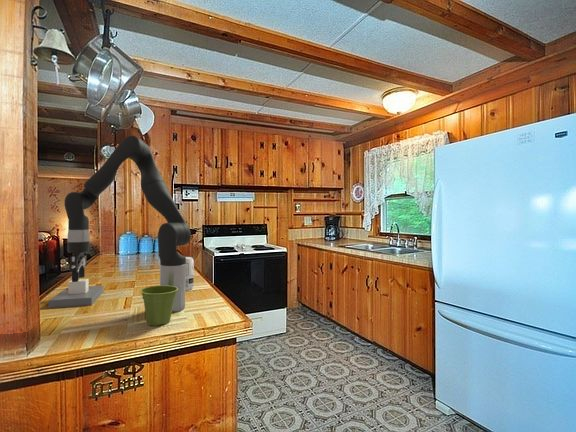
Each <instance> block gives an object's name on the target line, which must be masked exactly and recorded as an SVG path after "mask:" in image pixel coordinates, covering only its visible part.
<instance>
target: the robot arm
mask: <svg viewBox="0 0 576 432" xmlns="http://www.w3.org/2000/svg"><path fill="white" fill-rule="evenodd" d="M128 159H130V160H131V161H133V162H134V163H135V165H136V166H137V169H138V170H139V172H140V175H141V176H140V177H141V178H140V187H141V191H142V193H143V195H144V197H145V199H146V201H147V203H148V204H149V205H150V206H151V207H152V208H154V210H156V211H157V212H158V213H159V214H161V216H163V218H164V219H165V220H166V222H164V223H161V225H160V227H159V228H158V231H157V245H158V246H157V247H158V249H157V252H158V257H159V261H160V262H159V263H160V266H159V267H160V268H159V286H163V285H167V286H175V287H177V288H178V290H177V291H176V296H175V298H174V303H173V308H172V313H173V312H181V311H182V310H184V309H185V308H186V290H185V278H186V257H187V256H185V255H182V254H180V253H179V252H178V248H177V247H181V246H185V245H187V244H189V243H190V241H191V238H192V233H191V232H192V231H191V230H190V226H189V225H188V223H187V221H186V219H185V218H184V216H183V215H182V213H181V212H180V210H179V209H178V207H177V204H176V203H175V200H174V199H173V197H172V195H171V193H170V190H169V188H168V186H167V183H166V182H165V179H164V178H163V176H162V175H161V172H160V170H159V168H158V167H157V164H156V161H155V158H154V155H153V152H152V150H151V148H150V146H149V145H148V143H146V142H145V141H144V140H143V139H141V138H139V136H137V135H133V134H131V135H127V136H126V137H124V138H123V139H122V140H121V141H120V142H119V144H118V145H117V146H116V147H115V149H114V150H113V151H112V153H110V155H109V156H108V158H107V159H106V161H105V162H104V164H102V166H101V167H100V168H98V170H97V171H96V172H95V173H94V174H92V175H91V176H90V177H89V178H87V180H86V181H85V182H84V184H83V187H84V188H83V190H82V191H80V192H77V191H72V192H69V193H68V194H66V196H65V199H64V209H65V212H66V213H65V214H66V217H67V219H68V220H67V221H68V225H67V226H68V227H67V228H68V230H67V244H66V245H67V250H66V251H67V253H69V254H72V256H69V268H68V271H69V272H70V273H71V280H72V282H78V281H79V279H84V278H85V275H86V274H85V273H86V271H85V269H86V267H87V266H88V264H87V263H88V262H87V260H88V259H87V253H88V252H90V229H89V228H90V221H89V220H90V219H89V217H88V215H85V212H84V211H85V210H87V209H89V208H90V207H92V206H93V205H94V204H95V202H96V201H97V199H98V198H99V196H100V195H101V194H102V193H103V192H104V191H105V190H106V189H107V188H109V187H110V186H111V184H112V183H113V182H114V181H115V177H116V175H117V172H118V170H119V168H120V166H121V165H122V164H123V163H124V162H125V161H126V160H128Z"/></svg>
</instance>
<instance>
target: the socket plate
mask: <svg viewBox="0 0 576 432" xmlns="http://www.w3.org/2000/svg"><path fill="white" fill-rule="evenodd" d="M102 294H104V285H92V286H90V285H89V291H87V292H86V293H81V294H68V287H66V288H65V289H62V290H61V291H60V292H59V293H57V294H56V295H54V296H53V297H52V298H50V299H48V309H54V308H55V309H56V308H57V309H58V308H69V307H70V308H71V307H72V308H73V307H82V306H83V307H84V306H85V307H86V306H93V304H94V303H95V302H96V301H97V300H98V299H99V298H100V297H101V296H102Z"/></svg>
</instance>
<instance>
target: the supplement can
mask: <svg viewBox="0 0 576 432" xmlns="http://www.w3.org/2000/svg"><path fill="white" fill-rule="evenodd" d="M185 257H186V278H185V291H190V290H192V289H193V288H194V278H195V274H194V273H195V272H194V271H195V268H194V267H195V260H194V258H193V257H192V256H185Z"/></svg>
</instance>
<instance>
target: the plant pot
mask: <svg viewBox="0 0 576 432" xmlns="http://www.w3.org/2000/svg"><path fill="white" fill-rule="evenodd" d="M177 290H178V288H177V287H175V286H167V285H163V286H160V285H153V286H152V285H151V286H148V287H144V288H141V289H140V290H139V291H140V293H141V295H142V296H141V297H142V299H143V304H144V311H145V313H144V314H145V319H146V323H147V325H149V326H154V327H157V326H160V325H166V324H168V323H170V321H171V319H172V318H171V317H172V313H173V312H172V308H173V303H174V298H175V296H176V291H177Z"/></svg>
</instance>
